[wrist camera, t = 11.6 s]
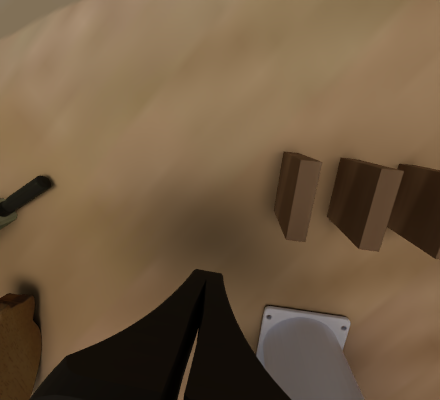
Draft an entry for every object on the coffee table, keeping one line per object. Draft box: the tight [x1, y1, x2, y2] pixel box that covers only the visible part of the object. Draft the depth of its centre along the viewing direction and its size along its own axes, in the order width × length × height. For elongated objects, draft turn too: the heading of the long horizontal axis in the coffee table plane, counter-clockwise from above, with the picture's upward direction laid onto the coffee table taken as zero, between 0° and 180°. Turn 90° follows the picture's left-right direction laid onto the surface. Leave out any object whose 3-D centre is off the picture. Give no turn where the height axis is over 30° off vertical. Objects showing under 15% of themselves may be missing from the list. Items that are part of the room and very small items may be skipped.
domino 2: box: [327, 158, 404, 252], centre depth 17 cm, size 1×5×6 cm, turn 174°
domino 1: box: [274, 152, 322, 242], centre depth 17 cm, size 1×5×6 cm, turn 174°
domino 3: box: [387, 164, 440, 259], centre depth 17 cm, size 1×5×6 cm, turn 174°
